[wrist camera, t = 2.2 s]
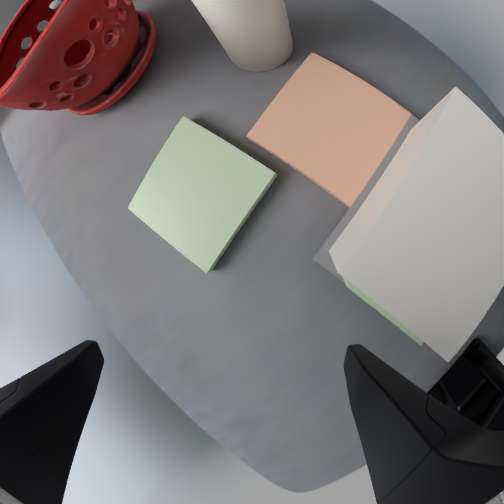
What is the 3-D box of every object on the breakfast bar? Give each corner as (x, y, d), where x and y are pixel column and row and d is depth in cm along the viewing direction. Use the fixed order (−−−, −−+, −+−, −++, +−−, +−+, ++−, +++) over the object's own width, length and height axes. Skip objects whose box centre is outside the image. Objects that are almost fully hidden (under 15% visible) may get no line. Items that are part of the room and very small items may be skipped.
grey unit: (485, 191, 15) (554, 182, 7) (398, 324, 17) (439, 383, 10) (407, 118, 16) (452, 67, 8) (312, 257, 18) (310, 285, 10)
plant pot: (101, 22, 20) (35, -20, 8) (192, 16, 18) (124, -64, 6) (52, 121, 22) (-32, 102, 11) (129, 140, 20) (11, 103, 9)
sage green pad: (277, 175, 18) (275, 173, 17) (211, 270, 20) (206, 273, 19) (188, 120, 19) (183, 116, 18) (135, 208, 21) (127, 208, 20)
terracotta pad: (407, 118, 16) (411, 113, 15) (348, 207, 17) (350, 207, 16) (312, 58, 16) (311, 52, 15) (249, 140, 18) (246, 136, 17)
